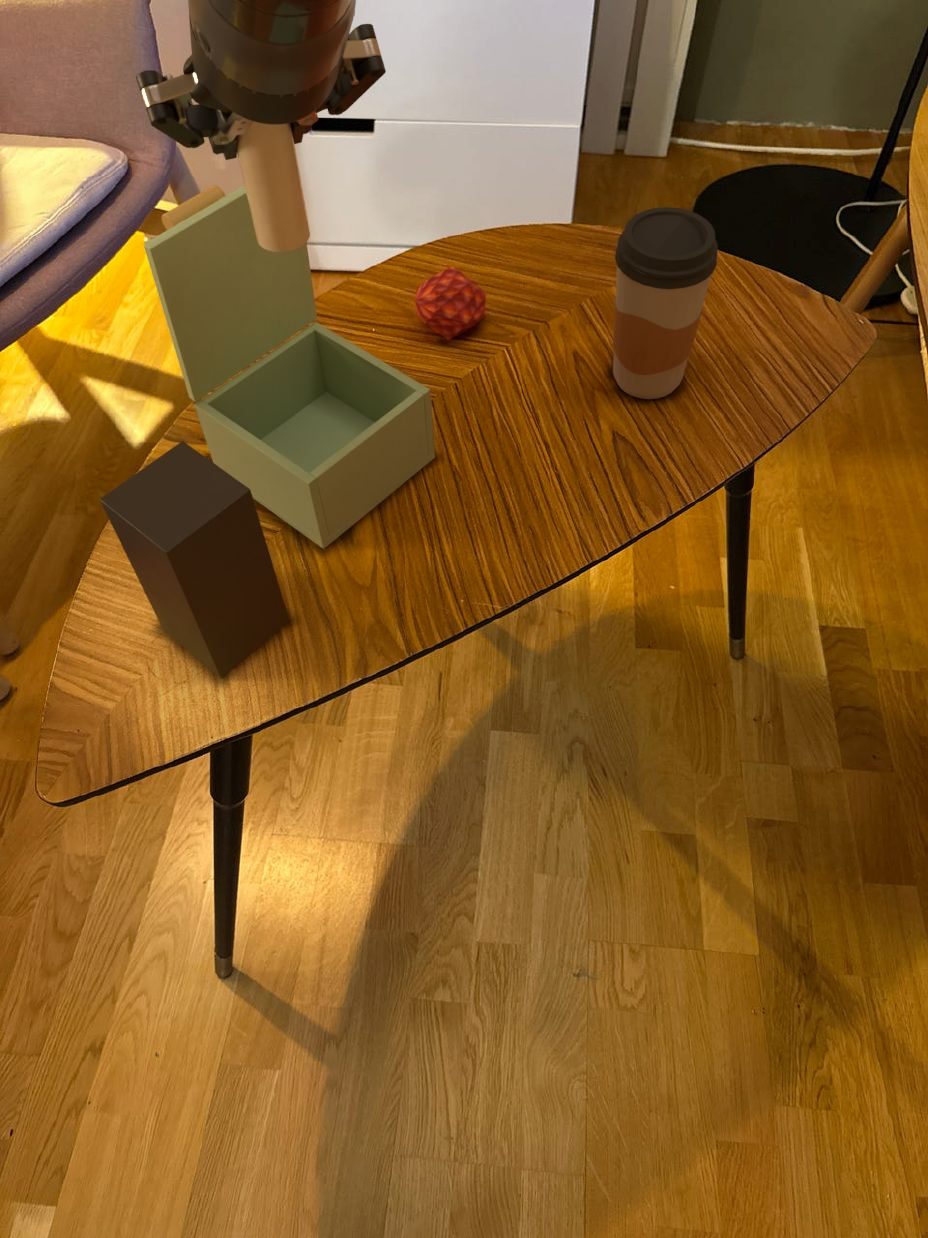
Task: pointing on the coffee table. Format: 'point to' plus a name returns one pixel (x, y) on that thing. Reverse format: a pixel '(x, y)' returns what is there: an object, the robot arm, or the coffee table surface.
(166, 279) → the chest lid
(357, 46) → the robot arm
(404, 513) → the coffee table surface
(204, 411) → the chest
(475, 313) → the red faceted ball
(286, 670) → the coffee table surface
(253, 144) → the canister
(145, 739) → the coffee table surface
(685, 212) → the coffee cup
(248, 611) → the block
